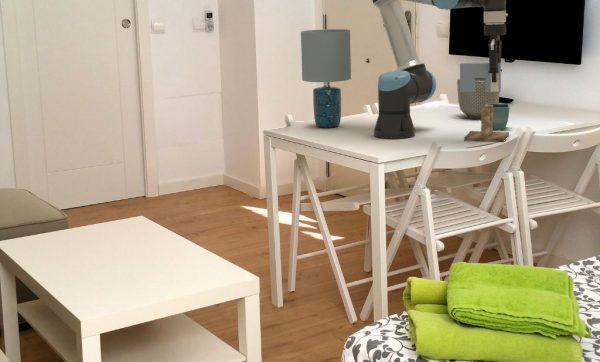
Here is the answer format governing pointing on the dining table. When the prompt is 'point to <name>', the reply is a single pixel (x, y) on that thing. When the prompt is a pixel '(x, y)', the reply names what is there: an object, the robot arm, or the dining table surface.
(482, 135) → the jig
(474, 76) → the slotted board
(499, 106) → the flower pot
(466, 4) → the robot arm
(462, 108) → the planter
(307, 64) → the lamp
